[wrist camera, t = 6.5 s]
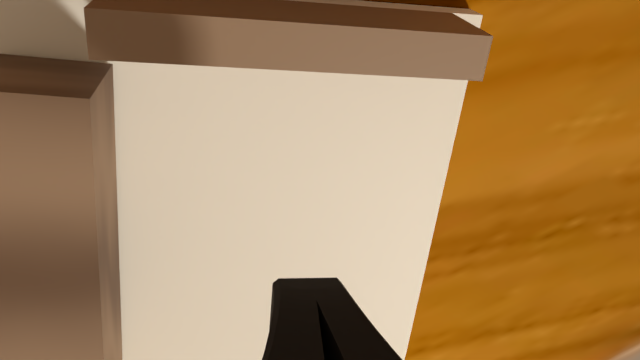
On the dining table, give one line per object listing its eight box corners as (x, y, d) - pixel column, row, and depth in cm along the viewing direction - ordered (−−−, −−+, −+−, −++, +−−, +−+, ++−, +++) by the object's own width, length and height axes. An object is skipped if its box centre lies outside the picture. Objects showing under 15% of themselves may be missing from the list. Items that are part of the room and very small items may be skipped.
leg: (122, 359, 21) (107, 426, 18) (37, 359, 20) (9, 429, 18) (112, 63, 16) (90, 99, 13) (-2, 53, 15) (-49, 87, 13)
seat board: (-30, 420, 23) (-83, 529, 19) (-159, -41, 15) (-297, -14, 11) (386, 398, 26) (413, 490, 22) (470, 8, 18) (537, 43, 14)
